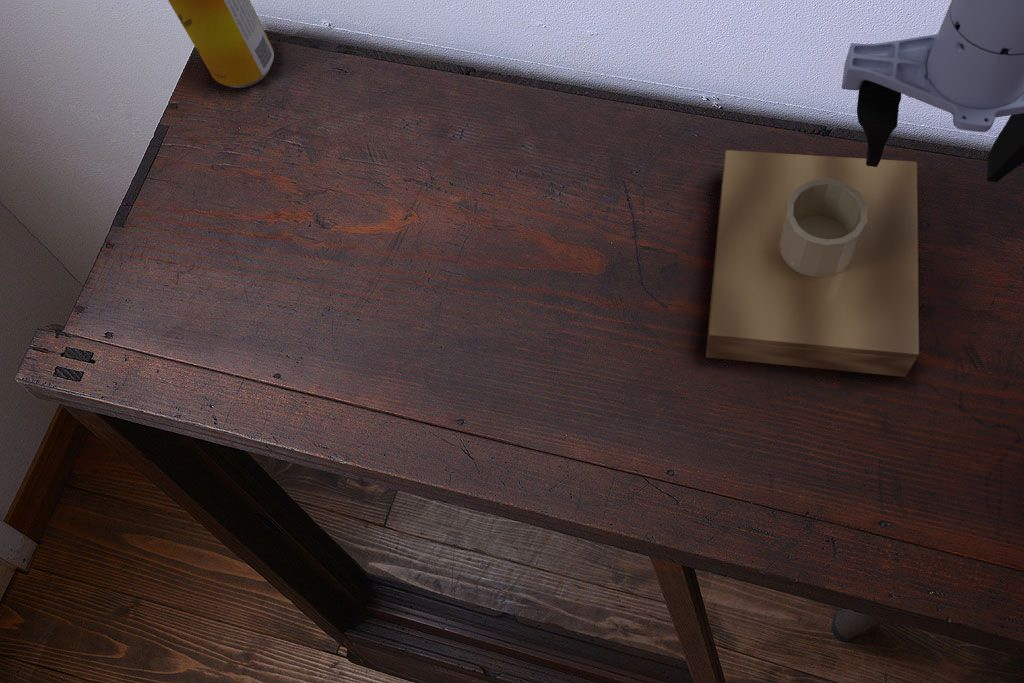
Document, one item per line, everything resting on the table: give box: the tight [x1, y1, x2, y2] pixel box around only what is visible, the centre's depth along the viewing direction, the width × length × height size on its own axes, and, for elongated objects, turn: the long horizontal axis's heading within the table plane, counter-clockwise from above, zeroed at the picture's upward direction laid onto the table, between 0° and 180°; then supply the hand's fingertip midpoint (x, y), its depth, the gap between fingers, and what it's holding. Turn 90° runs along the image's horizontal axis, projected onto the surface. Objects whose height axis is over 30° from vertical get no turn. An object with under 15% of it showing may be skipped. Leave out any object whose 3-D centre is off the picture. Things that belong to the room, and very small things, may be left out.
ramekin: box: [779, 179, 868, 277], centre depth 68 cm, size 5×5×4 cm
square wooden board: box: [705, 149, 920, 378], centre depth 72 cm, size 14×16×4 cm
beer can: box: [167, 0, 275, 89], centre depth 83 cm, size 6×6×15 cm
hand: (932, 161), depth 65 cm, fingers open, 7 cm apart
